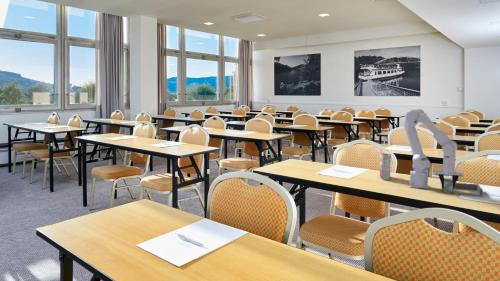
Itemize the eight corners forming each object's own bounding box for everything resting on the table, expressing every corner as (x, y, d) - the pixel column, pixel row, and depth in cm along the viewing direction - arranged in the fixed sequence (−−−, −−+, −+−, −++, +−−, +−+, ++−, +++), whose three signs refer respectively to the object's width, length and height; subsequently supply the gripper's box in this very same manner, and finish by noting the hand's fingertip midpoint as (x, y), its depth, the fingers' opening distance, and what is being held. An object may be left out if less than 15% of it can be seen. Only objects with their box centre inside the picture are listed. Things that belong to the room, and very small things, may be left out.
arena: (453, 194, 197) (453, 187, 196) (451, 188, 208) (451, 182, 207) (482, 196, 192) (482, 189, 191) (478, 190, 203) (478, 184, 202)
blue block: (443, 192, 199) (444, 181, 198) (442, 189, 206) (443, 178, 205) (452, 193, 198) (452, 182, 197) (450, 190, 204) (451, 179, 203)
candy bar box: (379, 175, 239) (379, 150, 237) (387, 176, 238) (388, 150, 236) (381, 180, 229) (382, 153, 226) (390, 180, 228) (391, 153, 225)
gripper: (434, 164, 199) (433, 189, 201) (465, 166, 193) (463, 191, 195) (433, 162, 205) (432, 186, 207) (463, 163, 200) (462, 188, 202)
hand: (447, 188), depth 201 cm, fingers closed on blue block, 4 cm apart
